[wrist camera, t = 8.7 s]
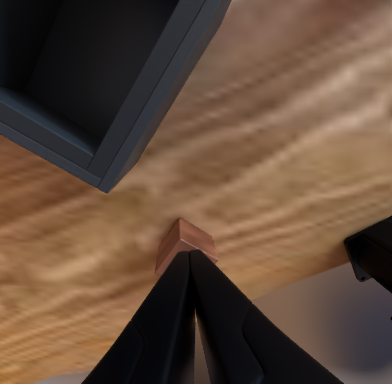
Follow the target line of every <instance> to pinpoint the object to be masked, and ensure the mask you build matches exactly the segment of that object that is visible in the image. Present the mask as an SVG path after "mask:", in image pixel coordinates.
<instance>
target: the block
mask: <svg viewBox="0 0 392 384" xmlns="http://www.w3.org/2000/svg"><path fill="white" fill-rule="evenodd" d="M196 249H200V250H201V251H202V252H203V253H204V254H205V255H206V256H207V257H208V258H209V259H210V260H211V261H212V262H213V263H214V264H216V262H217V261H218V257H217V253H216V250H215V246H214V242H213V239H212V236H211V235H209V234H207V233H205V232H204V231H202V230H200V229H199V228H197V227H195V226H193V225H192V224H190V223H188V222H186V221H185V220H183V219H181V218H179V219H178V220H177V222H176V223H175V225H174V226H173V227H172V229H171V230H170V232H169V233H168V234H167V236H166V237H165V239H164V240H163V241H162V243H161V244H160V246H159V248H158V254H157V261H156V267H155V274H157V275H160V276H162V274H163V273H164V271H165V270H166V268H167V267H168V265H169V264H170V263H171V261H172V260H173V258H174V257H175V255H176V254H177V253H178V252H180V251H189V252H190V250H196Z"/></svg>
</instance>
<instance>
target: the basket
mask: <svg viewBox="0 0 392 384" xmlns="http://www.w3.org/2000/svg"><path fill="white" fill-rule="evenodd" d="M230 2H231V0H0V135H2V136H4V137H6V138H8V139H9V140H11V141H13V142H15V143H17V144H18V145H20V146H22V147H24V148H26V149H27V150H29V151H31V152H33V153H35V154H36V155H38V156H40V157H42V158H44V159H45V160H47V161H49V162H51V163H53V164H54V165H56V166H58V167H60V168H62V169H63V170H65V171H67V172H69V173H71V174H72V175H74V176H76V177H78V178H80V179H81V180H83V181H85V182H87V183H89V184H90V185H92V186H94V187H96V188H98V189H99V190H101V191H103V192H105V193H109V192H110V191H111V189H112V188H113V187H114V186H115V185H116V184H117V183H118V182H119V181H120V180H121V179H122V178H123V177H124V176H125V175H126V174H127V173H128V172H129V171H130V169H131V168H132V167H133V166H134V165H135V164H136V163H137V161H138V159H139V158H140V156H141V154H142V153H143V151H144V149H145V148H146V146H147V145H148V143H149V141H150V140H151V138H152V136H153V135H154V133H155V131H156V130H157V128H158V126H159V125H160V123H161V122H162V120H163V118H164V117H165V115H166V113H167V112H168V110H169V108H170V107H171V105H172V103H173V102H174V100H175V98H176V97H177V95H178V94H179V92H180V90H181V89H182V87H183V85H184V84H185V82H186V80H187V79H188V77H189V75H190V74H191V72H192V71H193V69H194V67H195V66H196V64H197V62H198V61H199V59H200V57H201V56H202V54H203V52H204V51H205V49H206V47H207V46H208V44H209V43H210V41H211V39H212V38H213V36H214V34H215V33H216V31H217V29H218V28H219V26H220V24H221V23H222V20H223V18H224V16H225V14H226V11H227V9H228V7H229V5H230Z"/></svg>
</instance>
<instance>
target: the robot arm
mask: <svg viewBox="0 0 392 384" xmlns="http://www.w3.org/2000/svg"><path fill="white" fill-rule="evenodd" d="M349 242H350V243H349ZM344 245H345V247H346V250H347V253H348V256H349V259H350V262H351V264H352V267H353V270H354V273H355V276H356V278H357V279H358V280H359V281H360V282H364V281H366V280H368V279H370V278H374V279H375V280H376V281H377V282H378V283H380V284H381V285H382V286H383V287H384V288H386V289H387V290H388V291H389V292H391V293H392V216H391V217H389V218H387V219H385V220H383V221H381V222H379V223H377V224H375V225H373V226H371V227H369V228H367V229H364V230H362V231H360V232H358V233H356V234H354V235H352V236H350V237H348V238H346V239H345V240H344ZM195 310H196V317H197V322H198V327H199V331H200V336H201V340H202V345H203V350H204V354H205V359H206V363H207V368H208V373H209V377H210V381H211V384H344V383H343V382H341V381H340V380H339V379H338V378H337V377H335V376H334V375H333V374H332V373H331V372H329V371H328V370H327V369H326V368H325V367H323V366H322V365H321V364H320V363H319V362H317V361H316V360H315V359H314V358H313V357H311V356H310V355H309V354H308V353H307V352H305V351H304V350H303V349H302V348H300V347H299V346H298V345H297V344H296V343H295V342H293V341H292V340H291V339H290V338H289V337H287V336H286V335H285V334H284V333H283V332H282V331H281V330H280V329H278V328H277V327H276V326H275V325H274V324H273V323H272V322H271V321H270V320H269V319H268V318H267V317H266V316H265V315H264V314H263V313H262V312H261V311H260V310H259V309H258V308H257V307H256V306H255V305H254V304H252V302H251V301H250V300H249V299H248V298H247V297H246V296H245V295H244V294H243V293H242V292H241V291H240V290H239V289H238V288H237V287H236V286H235V285H234V283H233V282H232V281H231V280H230V279H229V278H228V277H227V276H226V275H225V274H224V273H223V272H222V271H221V270H220V269H219V268H218V267H217V266H216V265H215V264H214V263H213V262H212V261H211V260H210V259H209V258H208V257H207V256H206V255H205V254H204V253H203V252H202V251H201V250H200V249H196V250H190V252H189V251H180V252H178V253H177V254H176V255H175V257H174V258H173V260H172V261H171V263H170V264H169V265H168V267H167V268H166V270H165V271H164V273H163V274H162V276H161V277H160V278H159V280H158V281H157V283H156V284H155V286H154V287H153V288H152V290H151V291H150V293H149V294H148V296H147V297H146V299H145V300H144V301H143V303H142V304H141V306H140V307H139V309H138V310H137V311H136V313H135V314H134V316H133V317H132V319H131V321H129V323H128V324H127V326H126V327H125V329H124V330H123V331H122V333H121V334H120V336H119V337H118V338H117V340H116V341H115V342H114V344H113V345H112V346H111V348H110V349H109V350H108V352H107V353H106V354H105V355H104V357H103V358H102V359H101V360H100V362H99V363H98V364H97V365H96V367H95V368H94V369H93V370H92V371H91V373H90V374H89V375H88V376H87V377H86V379H85V380H84V381H83V382H82V383H81V384H194V355H195V354H194V353H195ZM390 319H391V320H392V317H391V318H390Z"/></svg>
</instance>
